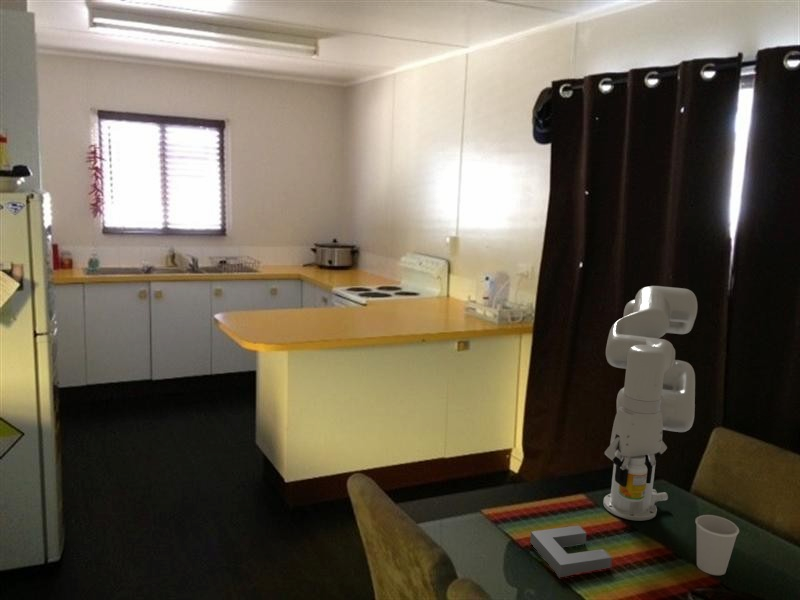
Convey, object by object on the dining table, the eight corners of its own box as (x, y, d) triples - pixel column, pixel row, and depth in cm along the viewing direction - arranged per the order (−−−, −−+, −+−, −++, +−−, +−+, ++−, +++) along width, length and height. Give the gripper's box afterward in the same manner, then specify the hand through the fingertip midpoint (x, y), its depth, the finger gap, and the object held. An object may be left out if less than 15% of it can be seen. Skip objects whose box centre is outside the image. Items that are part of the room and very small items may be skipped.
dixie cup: (711, 553, 147) (717, 512, 145) (742, 575, 139) (748, 532, 137) (681, 559, 144) (686, 517, 142) (710, 582, 136) (716, 537, 135)
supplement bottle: (614, 490, 147) (618, 449, 145) (637, 490, 148) (642, 449, 146) (624, 502, 142) (629, 460, 140) (648, 502, 143) (653, 460, 141)
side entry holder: (577, 537, 151) (578, 525, 151) (610, 570, 139) (611, 557, 139) (530, 543, 148) (531, 531, 148) (559, 578, 136) (560, 565, 135)
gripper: (663, 394, 147) (654, 470, 150) (596, 400, 142) (588, 478, 145) (687, 406, 140) (677, 485, 143) (617, 413, 135) (608, 495, 138)
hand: (632, 481), depth 144 cm, fingers closed on supplement bottle, 5 cm apart
